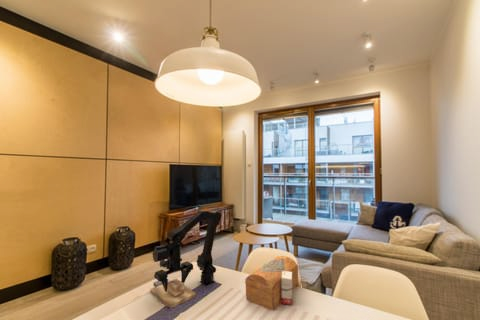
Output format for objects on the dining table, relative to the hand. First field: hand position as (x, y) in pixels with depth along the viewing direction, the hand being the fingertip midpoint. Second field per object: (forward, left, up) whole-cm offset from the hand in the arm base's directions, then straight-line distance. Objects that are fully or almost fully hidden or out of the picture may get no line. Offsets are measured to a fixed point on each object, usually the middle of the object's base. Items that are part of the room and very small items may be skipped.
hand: (174, 288), depth 116 cm
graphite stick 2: (0, -12, -3) cm, 13 cm away
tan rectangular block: (0, +1, -2) cm, 2 cm away
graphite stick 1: (0, -14, -3) cm, 15 cm away
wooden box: (-38, +34, -4) cm, 51 cm away
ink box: (-35, +43, -3) cm, 56 cm away
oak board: (0, -1, -4) cm, 4 cm away
